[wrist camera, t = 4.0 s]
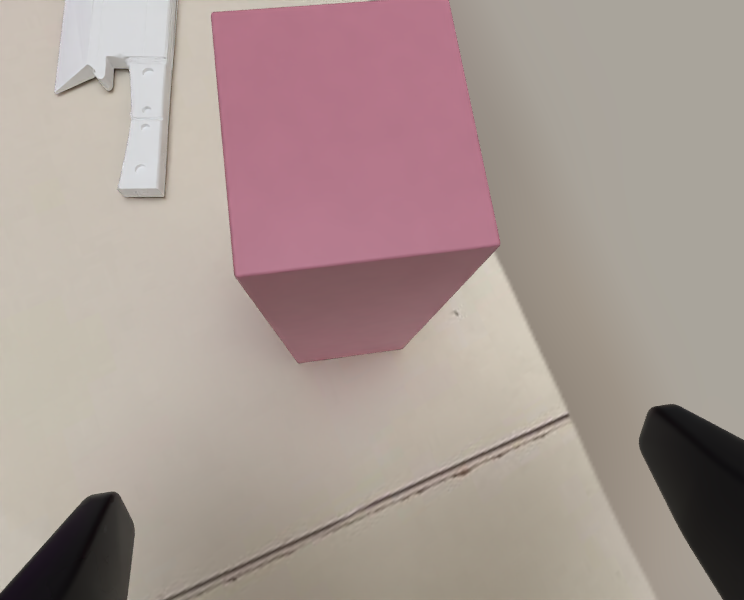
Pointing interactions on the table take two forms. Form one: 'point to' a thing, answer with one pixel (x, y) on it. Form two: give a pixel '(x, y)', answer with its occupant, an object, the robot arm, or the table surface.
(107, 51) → the butcher knife
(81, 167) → the table surface
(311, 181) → the pink box
